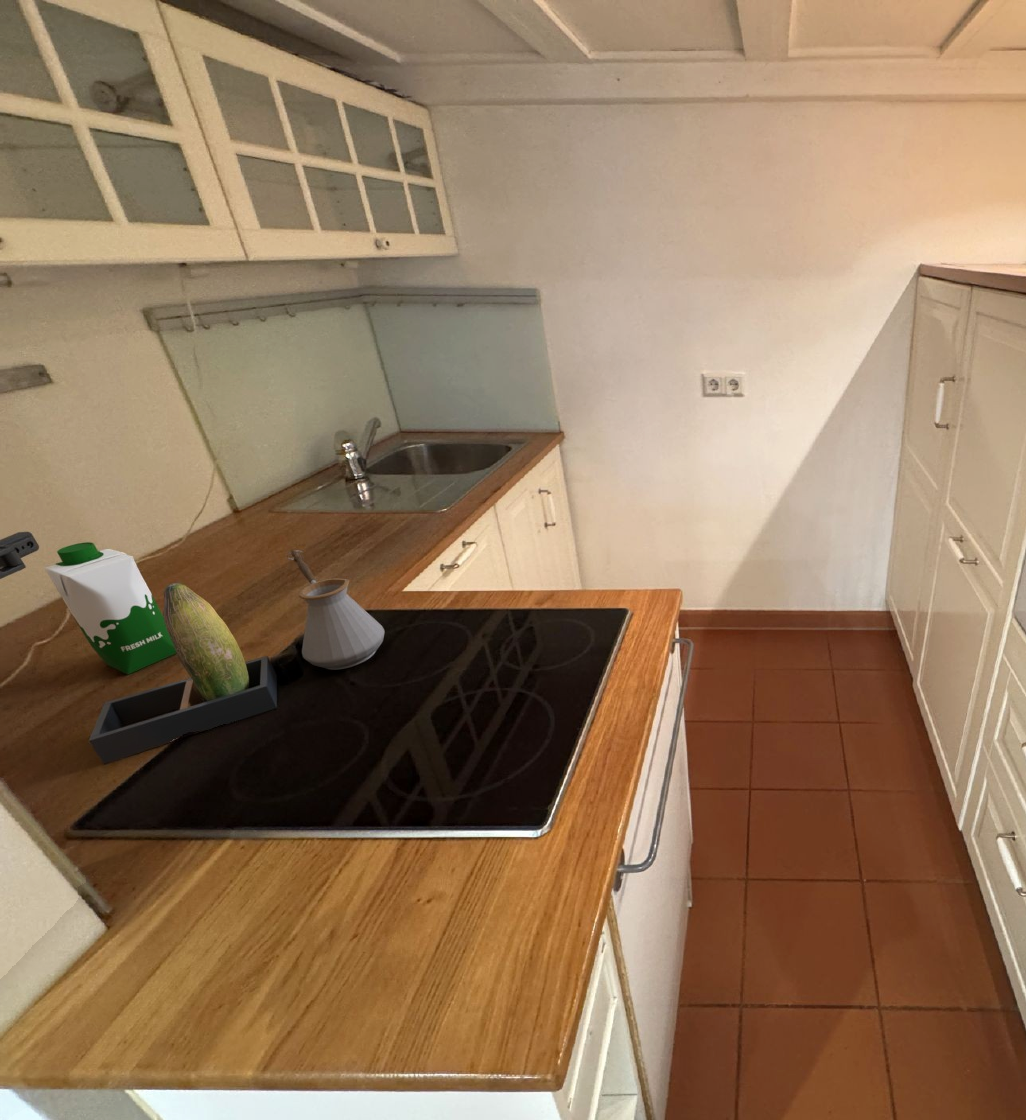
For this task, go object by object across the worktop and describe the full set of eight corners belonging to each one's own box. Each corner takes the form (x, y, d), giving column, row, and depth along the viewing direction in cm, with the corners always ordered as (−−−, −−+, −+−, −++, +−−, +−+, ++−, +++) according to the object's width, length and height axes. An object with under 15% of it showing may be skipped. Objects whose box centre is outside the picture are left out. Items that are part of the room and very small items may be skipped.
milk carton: (161, 639, 107) (105, 534, 98) (189, 650, 103) (133, 543, 94) (96, 666, 99) (28, 556, 91) (123, 679, 96) (56, 566, 87)
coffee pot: (400, 653, 101) (372, 572, 94) (320, 686, 93) (283, 601, 87) (357, 611, 114) (330, 537, 107) (284, 637, 106) (250, 560, 100)
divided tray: (103, 764, 79) (88, 740, 77) (118, 724, 86) (104, 702, 85) (276, 708, 89) (266, 685, 87) (277, 676, 96) (267, 655, 94)
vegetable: (268, 687, 93) (213, 571, 84) (254, 712, 88) (194, 591, 79) (220, 697, 91) (159, 579, 83) (202, 723, 86) (135, 600, 77)
